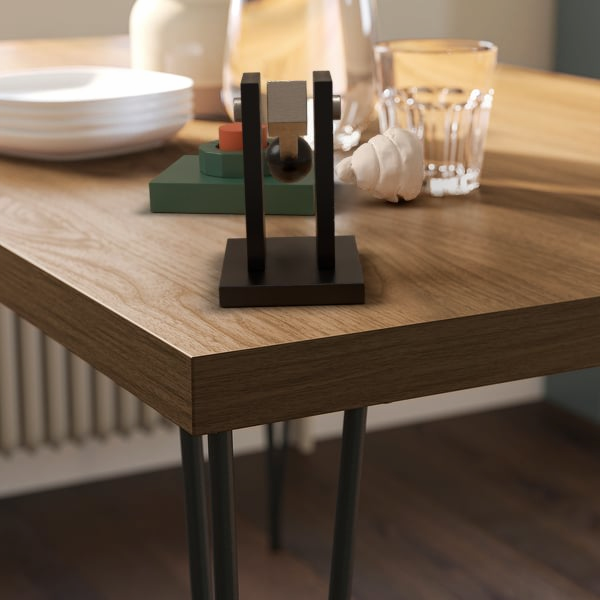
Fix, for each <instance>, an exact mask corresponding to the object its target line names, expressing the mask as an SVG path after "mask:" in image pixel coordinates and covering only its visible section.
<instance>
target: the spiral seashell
mask: <svg viewBox="0 0 600 600" xmlns="http://www.w3.org/2000/svg"><path fill="white" fill-rule="evenodd" d="M421 142H422V141H421V139H420V137H419V135H418V134H417V133H416V132H412V131H408V130H406V129H405V128H402V127H395V126H394V127H389V128H387V129H386V130H385V131H384V132H383V134H376V135H375V136H373V137H370V139H369V140H368V141H367V142H365V143H362V144H361V145H360V146H358V147H357V148H356V149H355V150H354V151H353V153H352V155H350V156H347V157H345V158H343V159H342V160H340V161H339V162H338V163H337V164H336V166H334V174H335V176H336V177H337V180H339V181H340V182H343V183H346V184H352V185H355V186H356V187H357V188H360V189H362V190H363V191H364V192H365V191H367V192H369V193H370V195H371V196H372V197H374V198H376V199H379V200H383V199H385V200H386V201H388V202H391V203H398V202H399V197H400V198H401V199H403V200H405V201H411V200H414V199H416V198H417V196H418V195H419V194H420V193H421V191H422V187H423V184H424V183H423V182H424V175H425V174H424V173H425V172H424V171H425V165H424V163H425V161H424V151H423V146H422V143H421ZM398 196H399V197H398Z"/></svg>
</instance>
